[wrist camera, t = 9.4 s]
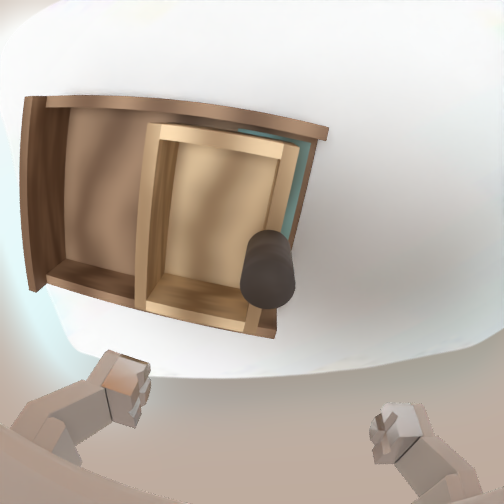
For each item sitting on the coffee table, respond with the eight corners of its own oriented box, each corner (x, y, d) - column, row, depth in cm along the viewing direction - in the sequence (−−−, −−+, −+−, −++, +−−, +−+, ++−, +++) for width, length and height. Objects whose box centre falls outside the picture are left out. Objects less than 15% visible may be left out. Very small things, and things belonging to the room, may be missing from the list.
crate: (305, 145, 25) (329, 159, 14) (268, 298, 30) (266, 381, 20) (174, 122, 24) (112, 124, 14) (157, 275, 30) (109, 345, 20)
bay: (318, 127, 25) (334, 127, 18) (274, 308, 32) (274, 353, 25) (69, 97, 25) (24, 96, 18) (64, 260, 32) (29, 290, 25)
